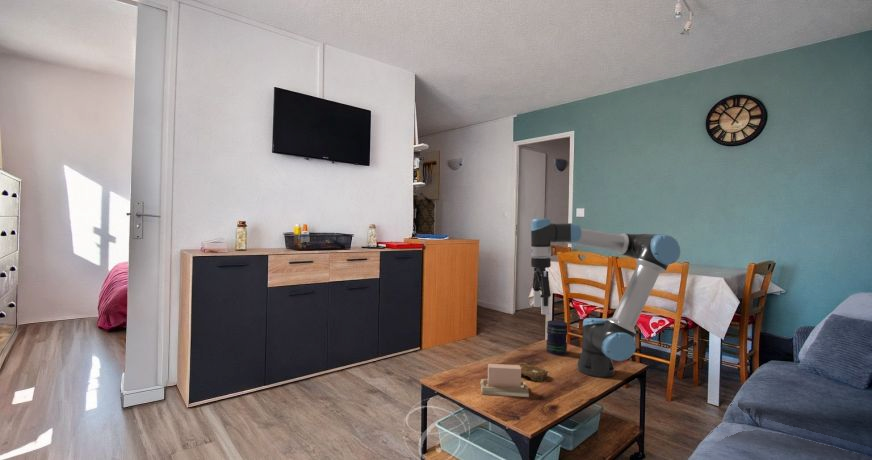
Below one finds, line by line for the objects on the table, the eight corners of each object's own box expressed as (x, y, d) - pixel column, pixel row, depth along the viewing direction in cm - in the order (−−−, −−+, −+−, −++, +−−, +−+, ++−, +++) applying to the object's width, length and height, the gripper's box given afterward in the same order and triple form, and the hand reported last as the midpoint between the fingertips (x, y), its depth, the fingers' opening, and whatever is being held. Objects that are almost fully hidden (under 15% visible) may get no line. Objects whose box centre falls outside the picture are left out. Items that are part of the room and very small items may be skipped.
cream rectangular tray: (480, 383, 153) (480, 377, 153) (524, 385, 152) (524, 380, 152) (482, 394, 143) (482, 388, 143) (528, 396, 142) (529, 391, 142)
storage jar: (550, 355, 191) (551, 325, 191) (543, 349, 200) (544, 320, 200) (570, 355, 191) (571, 325, 191) (562, 349, 201) (563, 320, 201)
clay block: (518, 386, 150) (519, 365, 149) (520, 390, 146) (521, 369, 145) (487, 384, 150) (488, 363, 150) (488, 388, 146) (488, 367, 146)
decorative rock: (505, 374, 165) (538, 386, 155) (506, 365, 165) (538, 376, 155) (519, 366, 173) (551, 377, 163) (520, 357, 173) (551, 367, 163)
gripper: (525, 254, 168) (525, 304, 168) (538, 260, 143) (538, 317, 143) (542, 254, 168) (543, 304, 168) (559, 260, 143) (559, 317, 143)
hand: (540, 310), depth 156 cm, fingers open, 13 cm apart
